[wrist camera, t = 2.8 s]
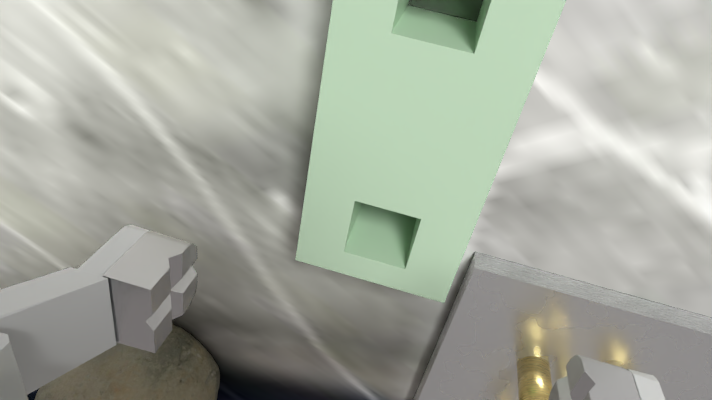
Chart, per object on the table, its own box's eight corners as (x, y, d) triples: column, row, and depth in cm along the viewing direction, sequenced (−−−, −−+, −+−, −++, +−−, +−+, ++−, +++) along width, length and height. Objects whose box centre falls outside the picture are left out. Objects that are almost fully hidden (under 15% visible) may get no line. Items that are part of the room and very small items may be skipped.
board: (378, -127, 16) (350, -127, 13) (573, -83, 16) (595, -72, 13) (320, 208, 24) (295, 260, 21) (449, 244, 24) (443, 303, 21)
